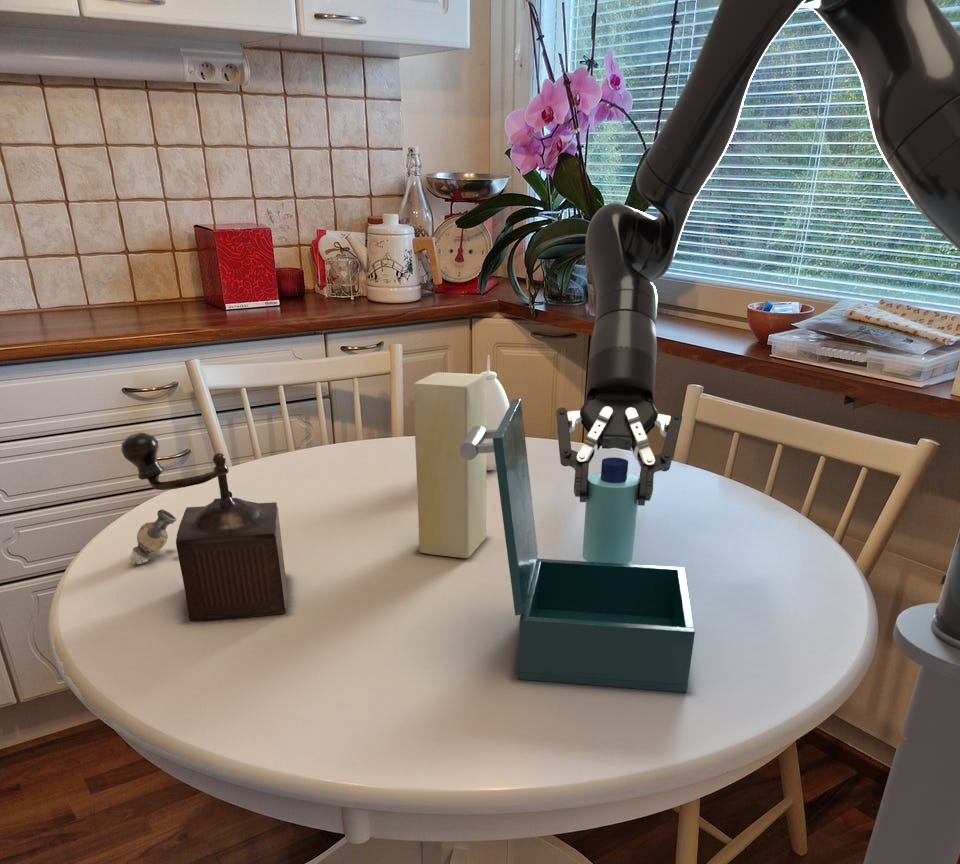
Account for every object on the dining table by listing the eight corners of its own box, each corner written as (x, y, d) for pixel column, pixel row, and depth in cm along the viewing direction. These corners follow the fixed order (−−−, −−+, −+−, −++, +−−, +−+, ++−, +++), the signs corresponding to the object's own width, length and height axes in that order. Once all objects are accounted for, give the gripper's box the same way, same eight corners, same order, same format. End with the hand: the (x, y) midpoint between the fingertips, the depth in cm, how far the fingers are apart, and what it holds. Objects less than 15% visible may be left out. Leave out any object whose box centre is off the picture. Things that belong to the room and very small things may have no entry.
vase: (185, 548, 108) (177, 503, 105) (178, 565, 103) (170, 518, 100) (140, 551, 107) (131, 505, 104) (132, 568, 102) (122, 521, 100)
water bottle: (632, 548, 97) (641, 454, 92) (632, 567, 93) (642, 470, 87) (583, 545, 98) (589, 452, 93) (581, 564, 93) (587, 467, 88)
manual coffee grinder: (288, 574, 101) (270, 422, 92) (287, 614, 91) (268, 450, 83) (151, 584, 98) (121, 429, 90) (136, 627, 89) (101, 458, 80)
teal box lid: (520, 398, 82) (474, 403, 83) (502, 437, 69) (447, 442, 70) (537, 553, 89) (495, 556, 90) (523, 614, 76) (474, 617, 77)
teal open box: (677, 621, 90) (684, 567, 87) (686, 692, 78) (695, 632, 75) (532, 611, 92) (534, 558, 89) (517, 679, 80) (519, 619, 77)
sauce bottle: (490, 459, 144) (491, 348, 135) (521, 469, 138) (524, 355, 130) (454, 467, 140) (452, 354, 131) (483, 478, 134) (484, 361, 126)
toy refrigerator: (434, 531, 114) (431, 370, 104) (487, 537, 112) (488, 374, 102) (412, 552, 107) (406, 382, 97) (468, 560, 105) (467, 387, 95)
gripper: (557, 341, 92) (544, 481, 88) (692, 345, 91) (685, 488, 86) (558, 381, 100) (546, 512, 95) (682, 386, 98) (676, 519, 93)
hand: (612, 500), depth 90 cm, fingers closed on water bottle, 5 cm apart
